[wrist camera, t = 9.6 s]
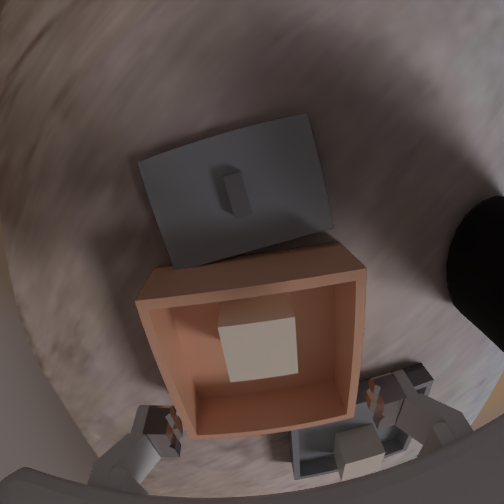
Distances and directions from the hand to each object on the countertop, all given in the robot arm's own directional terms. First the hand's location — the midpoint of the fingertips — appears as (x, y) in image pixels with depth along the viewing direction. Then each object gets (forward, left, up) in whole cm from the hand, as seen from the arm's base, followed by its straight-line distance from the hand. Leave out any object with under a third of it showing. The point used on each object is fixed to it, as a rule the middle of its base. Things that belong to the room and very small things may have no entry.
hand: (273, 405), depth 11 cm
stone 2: (+18, +8, -9) cm, 22 cm away
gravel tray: (+16, +8, -9) cm, 20 cm away
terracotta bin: (+3, 0, -9) cm, 10 cm away
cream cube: (+1, 0, -9) cm, 9 cm away
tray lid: (-7, 0, -9) cm, 12 cm away
